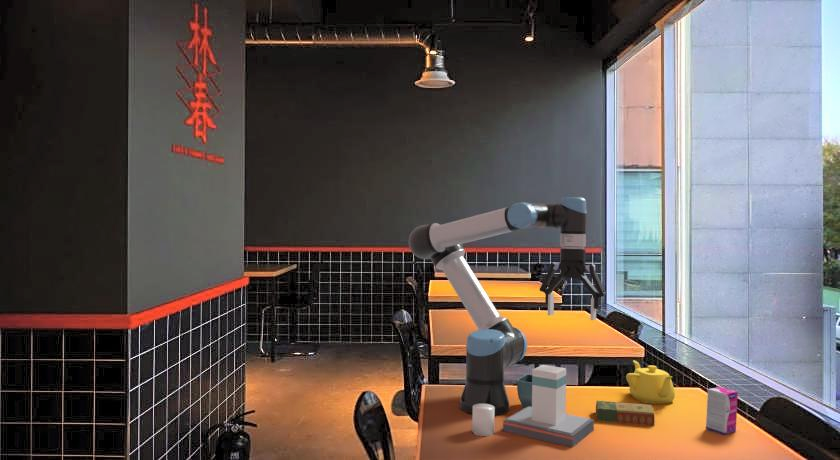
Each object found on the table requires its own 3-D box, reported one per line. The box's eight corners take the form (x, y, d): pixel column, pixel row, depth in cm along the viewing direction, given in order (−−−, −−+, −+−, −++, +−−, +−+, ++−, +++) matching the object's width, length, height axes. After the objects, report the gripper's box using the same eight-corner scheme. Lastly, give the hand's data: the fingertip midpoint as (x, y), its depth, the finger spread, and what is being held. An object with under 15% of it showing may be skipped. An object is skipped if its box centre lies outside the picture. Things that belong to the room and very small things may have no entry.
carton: (654, 427, 177) (654, 412, 177) (596, 422, 182) (596, 407, 181) (651, 418, 186) (651, 403, 185) (595, 413, 190) (595, 399, 189)
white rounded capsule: (468, 433, 170) (468, 407, 169) (478, 427, 174) (479, 402, 174) (487, 437, 166) (488, 411, 166) (498, 431, 171) (498, 406, 171)
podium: (502, 431, 171) (502, 419, 171) (527, 416, 184) (527, 405, 184) (572, 447, 160) (572, 434, 160) (593, 430, 173) (593, 418, 173)
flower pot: (542, 413, 187) (542, 384, 187) (515, 408, 192) (515, 379, 191) (552, 406, 194) (553, 378, 194) (526, 401, 199) (526, 373, 199)
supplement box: (725, 435, 171) (726, 393, 170) (705, 428, 176) (706, 388, 175) (737, 431, 174) (738, 391, 174) (717, 425, 179) (718, 385, 179)
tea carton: (531, 420, 171) (532, 369, 171) (541, 413, 177) (542, 364, 176) (555, 425, 167) (556, 373, 167) (565, 418, 173) (566, 368, 172)
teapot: (609, 390, 214) (609, 359, 214) (649, 388, 217) (650, 357, 217) (645, 410, 192) (645, 375, 192) (689, 407, 195) (690, 373, 195)
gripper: (530, 246, 193) (528, 314, 194) (609, 250, 179) (608, 323, 180) (540, 245, 200) (538, 311, 200) (617, 249, 185) (616, 319, 186)
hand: (571, 317), depth 190 cm, fingers open, 13 cm apart
